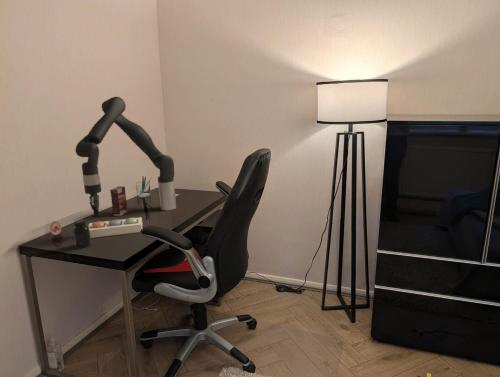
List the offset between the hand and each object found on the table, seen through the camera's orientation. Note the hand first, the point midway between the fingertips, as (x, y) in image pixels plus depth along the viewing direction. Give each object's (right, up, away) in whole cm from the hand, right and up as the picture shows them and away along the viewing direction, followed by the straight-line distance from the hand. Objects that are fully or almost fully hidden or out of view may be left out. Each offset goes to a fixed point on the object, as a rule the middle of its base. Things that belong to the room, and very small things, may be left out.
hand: (96, 216), depth 179 cm
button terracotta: (0, -6, +1) cm, 6 cm away
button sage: (+16, -4, +5) cm, 17 cm away
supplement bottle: (0, -13, -13) cm, 18 cm away
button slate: (+8, -5, +3) cm, 10 cm away
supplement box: (0, -1, +33) cm, 33 cm away
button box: (+8, -8, +4) cm, 12 cm away
